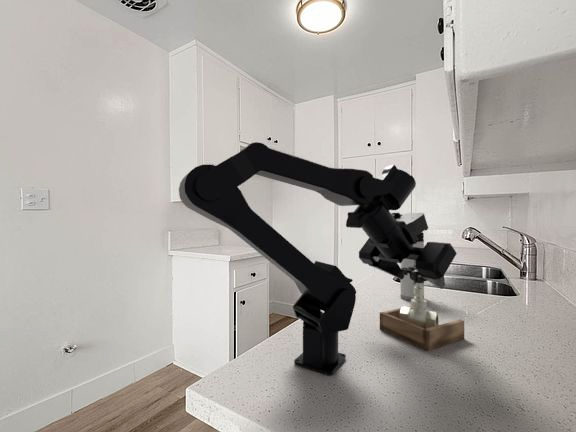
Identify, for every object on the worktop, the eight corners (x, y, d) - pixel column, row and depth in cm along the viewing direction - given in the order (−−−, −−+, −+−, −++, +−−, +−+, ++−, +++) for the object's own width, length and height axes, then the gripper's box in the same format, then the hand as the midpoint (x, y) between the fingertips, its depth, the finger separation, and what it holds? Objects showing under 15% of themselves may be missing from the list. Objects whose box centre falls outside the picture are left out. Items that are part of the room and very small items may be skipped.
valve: (433, 338, 53) (433, 273, 53) (396, 330, 57) (396, 269, 57) (440, 328, 58) (440, 268, 58) (406, 320, 62) (406, 265, 62)
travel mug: (405, 294, 87) (405, 228, 87) (427, 298, 82) (427, 229, 82) (395, 298, 83) (395, 229, 83) (418, 303, 78) (418, 230, 78)
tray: (426, 351, 50) (426, 331, 50) (379, 329, 60) (379, 312, 60) (464, 338, 55) (464, 320, 55) (415, 320, 65) (415, 305, 65)
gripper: (449, 194, 47) (487, 257, 52) (368, 200, 63) (403, 248, 68) (417, 244, 43) (461, 307, 48) (340, 237, 60) (379, 284, 65)
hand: (421, 281), depth 57 cm, fingers open, 9 cm apart
